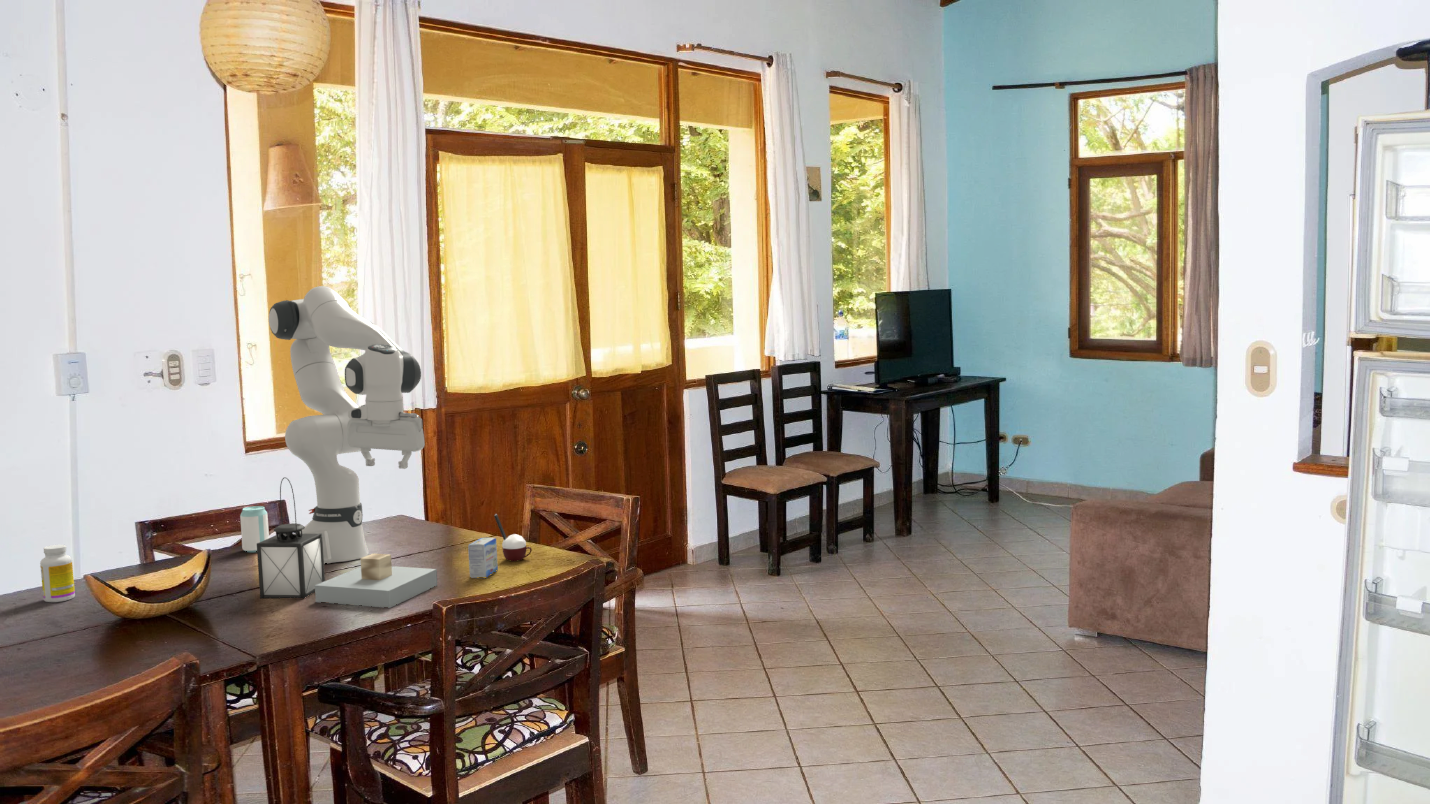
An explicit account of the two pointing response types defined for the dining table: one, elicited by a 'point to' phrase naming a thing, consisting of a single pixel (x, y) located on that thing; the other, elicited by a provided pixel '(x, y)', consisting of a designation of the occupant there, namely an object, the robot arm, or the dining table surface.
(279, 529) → the lantern
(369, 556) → the maple cube
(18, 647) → the dining table surface
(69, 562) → the supplement bottle
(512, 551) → the cocoa
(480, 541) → the medicine box
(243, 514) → the can
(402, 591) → the stand
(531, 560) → the dining table surface
